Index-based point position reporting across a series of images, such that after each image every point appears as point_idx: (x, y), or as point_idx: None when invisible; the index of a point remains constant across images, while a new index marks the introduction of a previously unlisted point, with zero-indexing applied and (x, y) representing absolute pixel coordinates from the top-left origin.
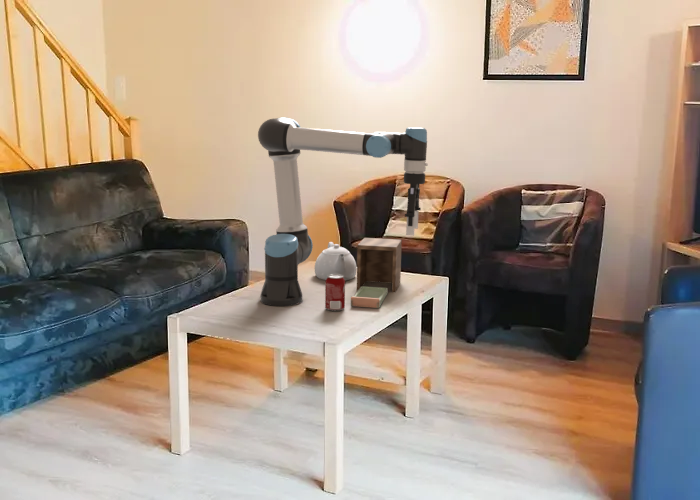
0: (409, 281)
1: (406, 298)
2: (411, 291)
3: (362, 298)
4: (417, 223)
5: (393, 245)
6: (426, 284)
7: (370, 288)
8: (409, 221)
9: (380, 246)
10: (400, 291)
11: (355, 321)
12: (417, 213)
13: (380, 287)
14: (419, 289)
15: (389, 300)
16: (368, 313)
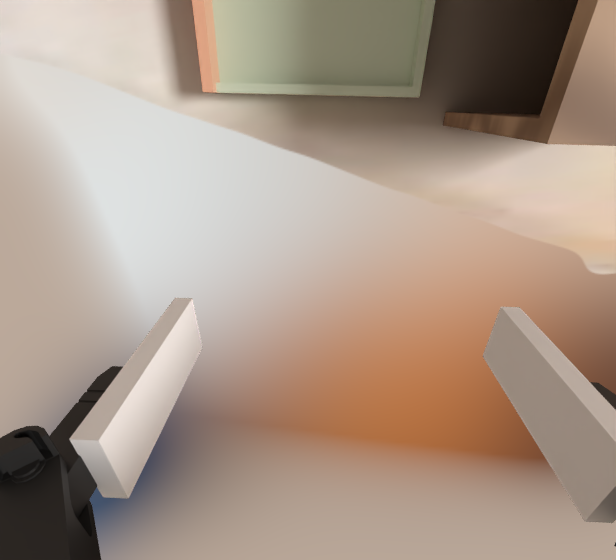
0: (612, 163)
1: (366, 175)
2: (459, 184)
3: (194, 9)
4: (503, 388)
5: (611, 114)
6: (555, 226)
7: (423, 10)
8: (77, 416)
9: (595, 3)
10: (459, 144)
11: (33, 25)
12: (567, 481)
13: (424, 62)
14: (487, 208)
15: (330, 117)
16: (145, 60)
